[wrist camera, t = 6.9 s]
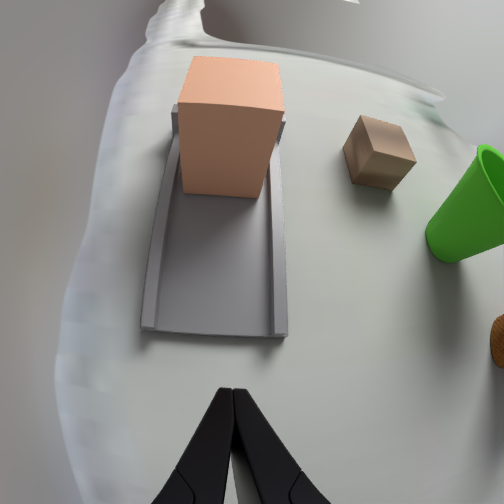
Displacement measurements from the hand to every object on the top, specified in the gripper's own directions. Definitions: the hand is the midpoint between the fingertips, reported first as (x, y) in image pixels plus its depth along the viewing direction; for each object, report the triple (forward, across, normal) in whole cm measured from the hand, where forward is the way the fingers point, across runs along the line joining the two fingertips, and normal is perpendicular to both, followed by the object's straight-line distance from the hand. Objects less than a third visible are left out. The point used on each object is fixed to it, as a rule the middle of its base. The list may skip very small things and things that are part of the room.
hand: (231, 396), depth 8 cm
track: (+17, +1, -2) cm, 17 cm away
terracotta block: (+19, +1, -5) cm, 20 cm away
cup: (+17, -22, -2) cm, 28 cm away
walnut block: (+22, -14, -7) cm, 27 cm away
